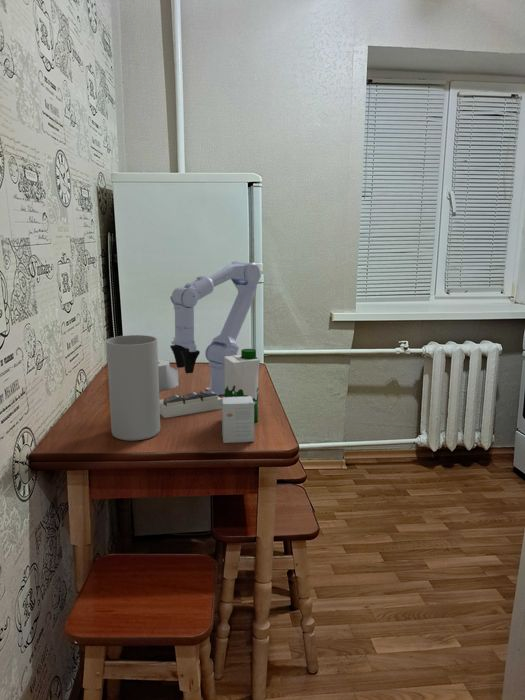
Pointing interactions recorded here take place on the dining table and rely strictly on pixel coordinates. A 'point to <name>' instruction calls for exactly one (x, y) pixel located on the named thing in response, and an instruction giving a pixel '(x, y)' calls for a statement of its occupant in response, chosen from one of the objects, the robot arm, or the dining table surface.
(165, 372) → the toilet tissue
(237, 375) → the milk carton
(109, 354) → the cylinder vase
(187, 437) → the dining table surface
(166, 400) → the rocker
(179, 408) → the switch panel
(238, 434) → the small box
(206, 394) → the rocker
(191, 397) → the rocker
